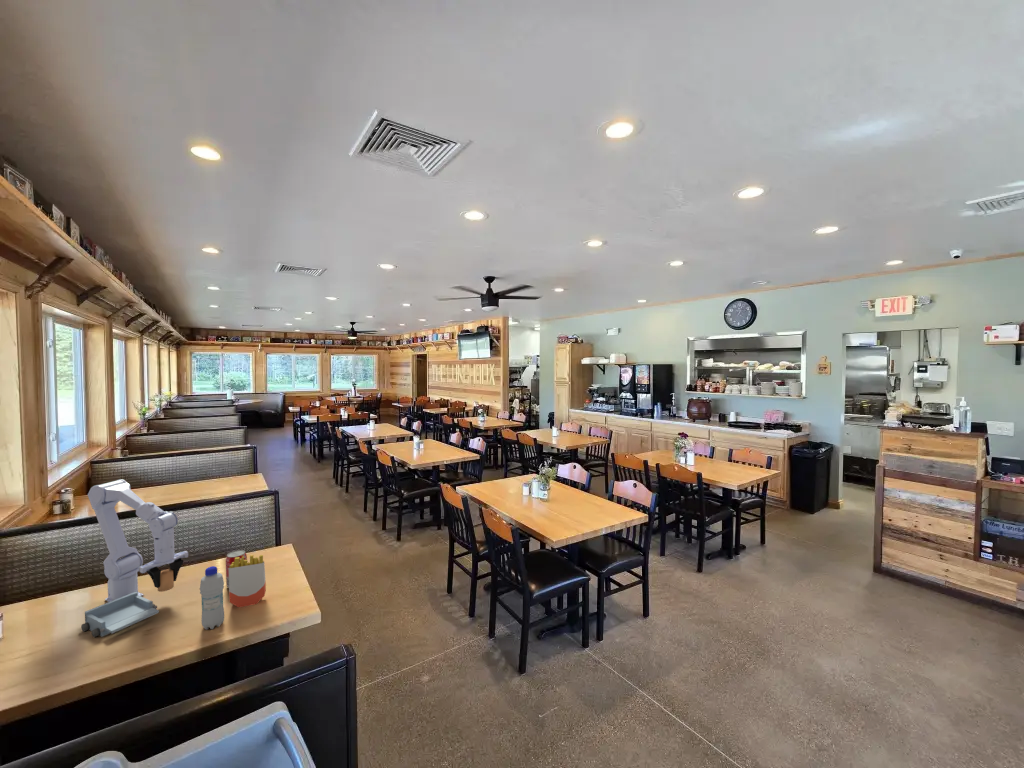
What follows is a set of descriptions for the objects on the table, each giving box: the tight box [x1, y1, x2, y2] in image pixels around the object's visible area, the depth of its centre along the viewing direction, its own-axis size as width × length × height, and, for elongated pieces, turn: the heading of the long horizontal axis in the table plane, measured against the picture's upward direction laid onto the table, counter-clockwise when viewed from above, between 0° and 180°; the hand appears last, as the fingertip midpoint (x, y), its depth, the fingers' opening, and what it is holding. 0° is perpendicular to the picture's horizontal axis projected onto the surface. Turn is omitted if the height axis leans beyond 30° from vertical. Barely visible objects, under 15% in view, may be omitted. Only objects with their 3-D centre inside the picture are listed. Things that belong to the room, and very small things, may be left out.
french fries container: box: [228, 554, 267, 608], centre depth 159 cm, size 5×11×18 cm, turn 113°
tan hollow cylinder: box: [157, 568, 175, 593], centre depth 159 cm, size 5×5×7 cm
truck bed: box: [80, 591, 158, 638], centre depth 147 cm, size 12×17×6 cm
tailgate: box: [106, 608, 160, 634], centre depth 144 cm, size 1×13×4 cm
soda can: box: [225, 549, 248, 589], centre depth 171 cm, size 7×7×13 cm
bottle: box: [199, 565, 225, 630], centre depth 145 cm, size 7×7×20 cm
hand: (165, 583), depth 159 cm, fingers closed on tan hollow cylinder, 5 cm apart
